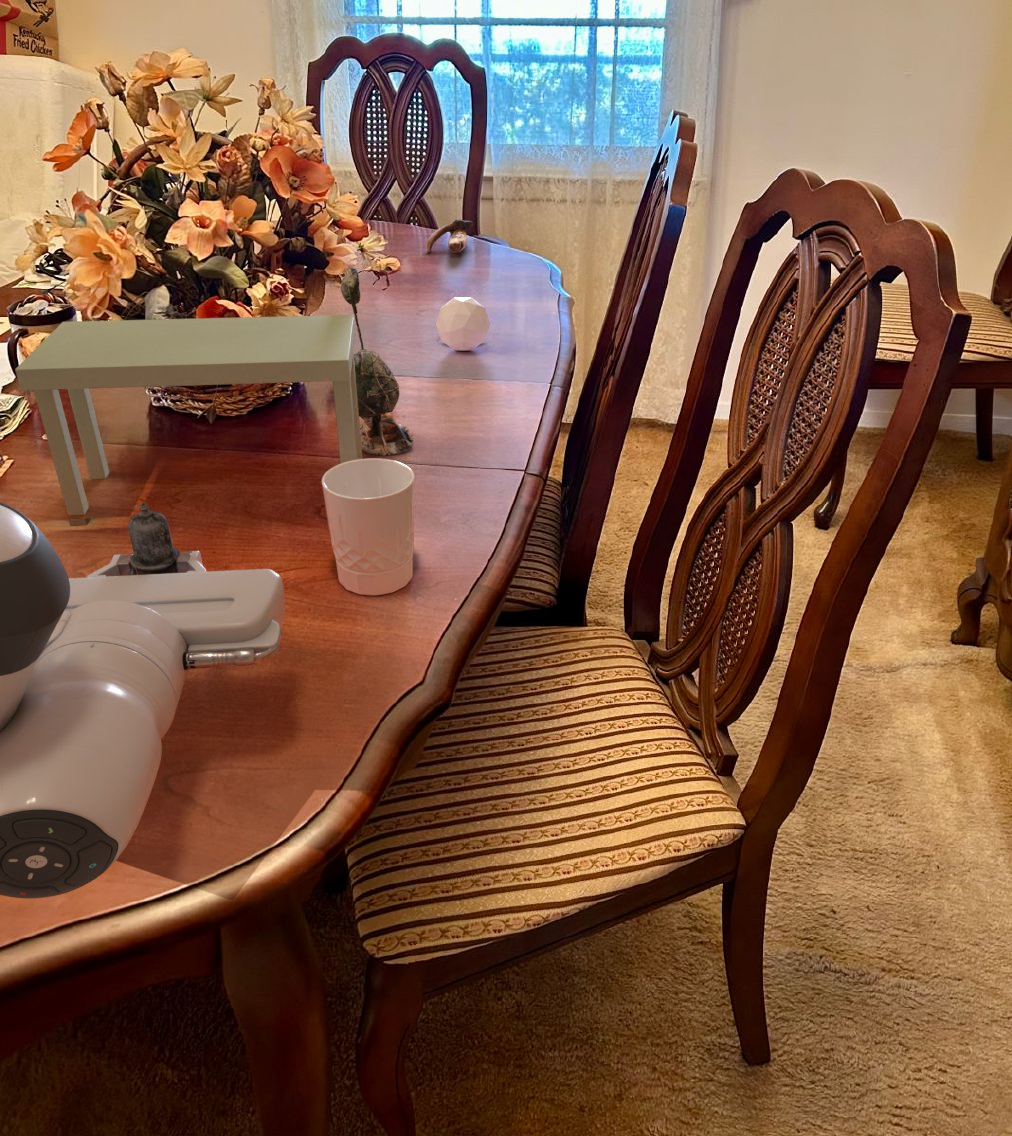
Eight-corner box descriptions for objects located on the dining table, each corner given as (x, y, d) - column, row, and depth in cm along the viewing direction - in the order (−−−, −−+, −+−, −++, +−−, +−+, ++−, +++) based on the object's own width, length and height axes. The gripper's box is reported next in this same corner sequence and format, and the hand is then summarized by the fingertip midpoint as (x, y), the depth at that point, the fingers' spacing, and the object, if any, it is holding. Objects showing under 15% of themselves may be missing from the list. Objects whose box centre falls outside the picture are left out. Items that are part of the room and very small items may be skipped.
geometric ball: (457, 362, 142) (456, 311, 143) (500, 351, 138) (499, 299, 139) (425, 349, 136) (425, 296, 137) (470, 337, 132) (469, 283, 132)
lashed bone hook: (431, 240, 202) (423, 258, 186) (429, 217, 200) (422, 234, 184) (474, 239, 202) (470, 257, 186) (473, 216, 199) (469, 232, 184)
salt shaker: (180, 664, 72) (150, 527, 65) (117, 648, 73) (82, 513, 67) (224, 623, 76) (201, 492, 70) (165, 609, 78) (136, 480, 72)
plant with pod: (337, 465, 105) (319, 286, 94) (352, 426, 114) (338, 259, 104) (409, 466, 105) (400, 287, 94) (418, 426, 114) (410, 259, 104)
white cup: (397, 607, 81) (390, 505, 75) (316, 590, 83) (304, 490, 78) (432, 562, 87) (428, 465, 82) (356, 548, 89) (347, 452, 84)
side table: (62, 537, 91) (14, 369, 82) (100, 474, 102) (62, 321, 94) (362, 524, 93) (348, 359, 84) (365, 464, 105) (353, 314, 96)
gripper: (271, 621, 60) (290, 518, 71) (-64, 639, 58) (12, 530, 70) (283, 697, 63) (299, 587, 75) (-34, 717, 61) (34, 601, 73)
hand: (159, 560), depth 72 cm, fingers closed on salt shaker, 3 cm apart
